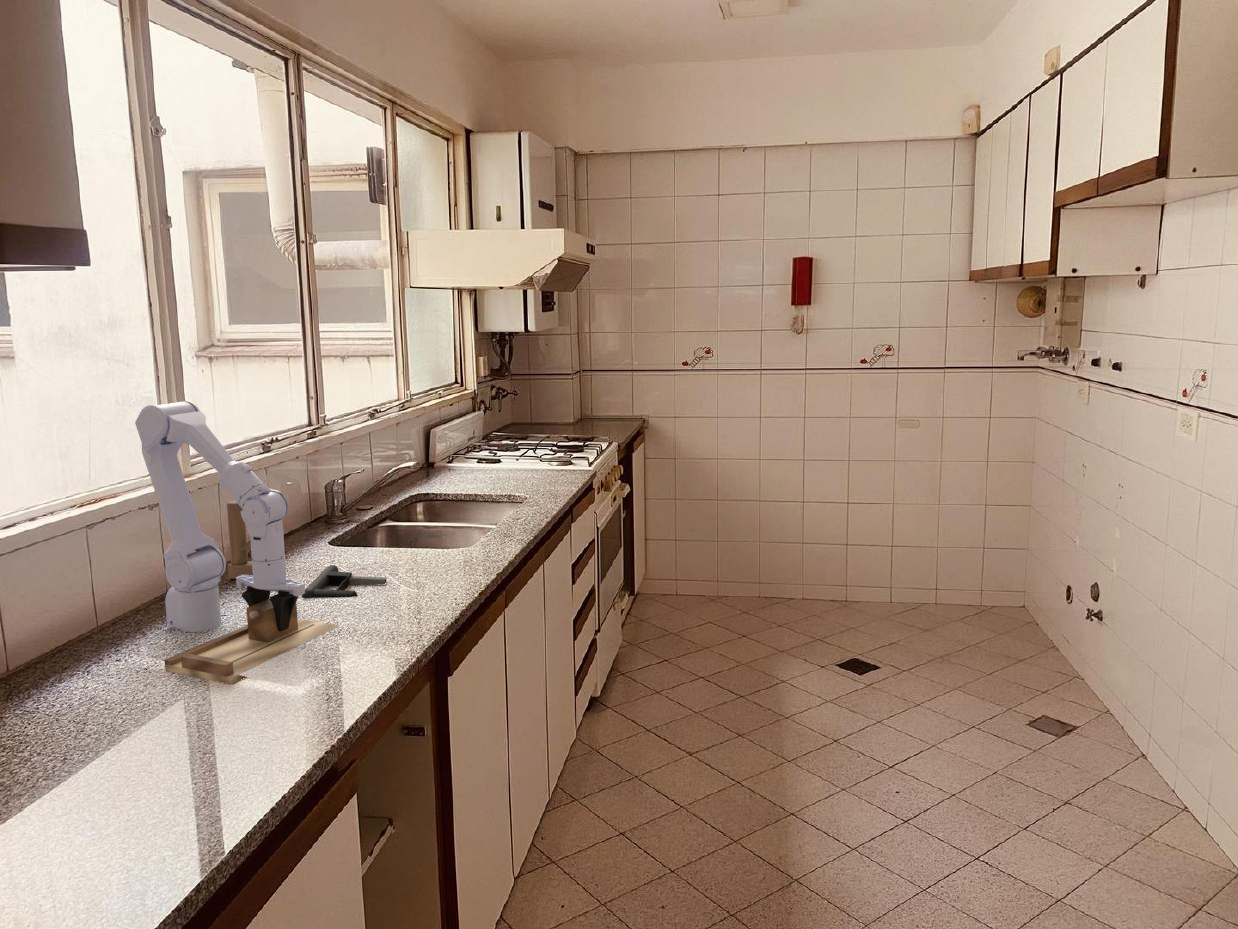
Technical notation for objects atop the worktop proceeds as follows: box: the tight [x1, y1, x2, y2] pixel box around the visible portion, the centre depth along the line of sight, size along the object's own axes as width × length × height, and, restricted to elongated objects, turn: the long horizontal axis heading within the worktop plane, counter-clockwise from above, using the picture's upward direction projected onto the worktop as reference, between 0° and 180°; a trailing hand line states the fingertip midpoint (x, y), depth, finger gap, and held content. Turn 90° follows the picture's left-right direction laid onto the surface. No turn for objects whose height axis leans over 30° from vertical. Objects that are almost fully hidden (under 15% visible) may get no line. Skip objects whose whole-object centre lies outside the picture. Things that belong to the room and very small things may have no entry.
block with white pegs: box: [246, 598, 299, 642], centre depth 170 cm, size 4×10×6 cm, turn 157°
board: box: [164, 618, 340, 685], centre depth 166 cm, size 15×27×3 cm, turn 157°
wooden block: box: [226, 500, 253, 580], centre depth 208 cm, size 4×11×18 cm, turn 79°
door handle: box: [301, 564, 387, 599], centre depth 202 cm, size 3×20×16 cm
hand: (273, 627), depth 171 cm, fingers closed on block with white pegs, 4 cm apart
